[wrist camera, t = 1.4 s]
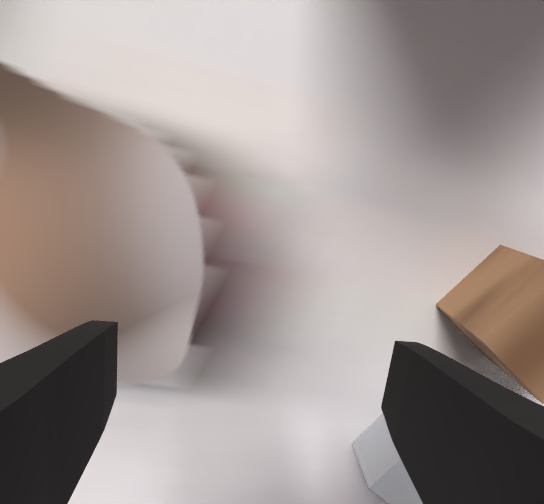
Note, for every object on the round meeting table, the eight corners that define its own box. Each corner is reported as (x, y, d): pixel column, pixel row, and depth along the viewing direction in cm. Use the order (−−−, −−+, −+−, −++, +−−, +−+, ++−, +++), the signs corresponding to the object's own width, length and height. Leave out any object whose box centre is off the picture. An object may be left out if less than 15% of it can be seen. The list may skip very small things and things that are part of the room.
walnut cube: (549, 300, 22) (622, 335, 18) (485, 356, 23) (542, 403, 19) (499, 244, 22) (564, 267, 17) (435, 304, 22) (481, 340, 18)
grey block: (492, 429, 24) (533, 473, 21) (419, 496, 25) (447, 549, 22) (425, 369, 23) (457, 405, 20) (350, 441, 24) (368, 488, 20)
